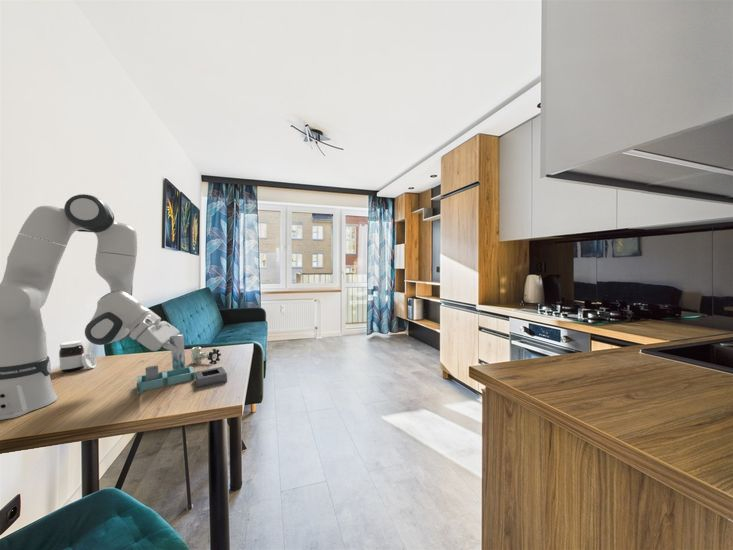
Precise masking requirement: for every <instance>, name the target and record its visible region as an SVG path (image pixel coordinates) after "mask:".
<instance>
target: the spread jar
mask: <svg viewBox="0 0 733 550" xmlns="http://www.w3.org/2000/svg"><path fill="white" fill-rule="evenodd" d="M59 348H60V349H59V351H58V357H59V359H58V360H59V369H60V370H59V371H60V373H62V372H63V374H64V373H65V374H66V373H67V372H68V373H73V372H74V371H75V372H77V371H78V370H79V371H82V370H83V369H87V370H92V369H95V367H97V359H96V357H95V355H94V354H93V353H92V352H86V353H85V348H84V346H83V340H70V341H65V342H61V343H60V344H59ZM91 368H92V369H91ZM81 369H82V370H81Z"/></svg>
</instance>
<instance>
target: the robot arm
mask: <svg viewBox="0 0 733 550" xmlns="http://www.w3.org/2000/svg"><path fill="white" fill-rule="evenodd" d="M75 232H79V233H80V232H81V233H82V232H84V233H94V235H95V236H96V239H97V245H96V253H95V260H94V261H95V262H94V264H95V271H96V273H97V274H98V276H99V277H101V278H102V279H103V280H104V281H105V282H106V283H107V285H108V287H109V289H110V292H108V293H107V294H105V295H103V296H102V297H100V298H99V299H98V300H97V305H96V310H95V312H94V314H93V316H92V318H91V319H90V321H89V322H88V323H87V324H86V326H85V327H84V336H85V339H87V341H89V342H90V343H91V344H94V345H98V346H105V345H109V344H111V343H114V342H117V341H123V340H126V339H127V338H130V339H132V340H133V341H134V340H136V341H137V342H138V343H139V344H141V345H142V346H144V347H145V348H146V349H149V351H153V352H157V351H158V350H160V349H161V348H163V349H165V350H167V351H170V352H171V351H172V352H173V353H176V352H177V351H178V350H179V348H178V347H177V346H174V345H172V344H171V336H172V335H176V334H181V331H180V330H179V329H178V328H177V327H175V326H174V325H173V324H171V323H169V322H168V321H166V320H162V318H161V316H159V315H158V314H157V313H155V311H153V310H151V309H150V308H148V307H145V306H144V305H143V303H142V302H141V301H140V300H138V299H137V298H135V297H134V296H133V285H134V283H133V282H134V273H135V268H136V264H137V263H136V262H137V254H138V237H137V236H138V235H137V231H136V229H134V227H132V226H131V225H129V224H126V223H122V222H118V221H116V220H115V215H114V213H113V211H112V209H111V208H110V206H109V205H108V204H107V203H105V202H104V201H103V200H102V199H101V198H99V197H97V196H94V195H91V194H85V193H83V194H81V193H80V194H76V195H73V196H71V197H70V198H69V199H67V201H66V202H65V204H64V208H63V207H62V208H60V207H57V206H53V205H52V206H50V205H40V206H37V207H35V208H34V209H33V210H32V211H31V213H30V214H29V215H28V217H27V218H26V219H25V221H24V223H23V224H22V225H21V228H20V230H19V231H18V234H17V236H16V238H15V240H14V242H13V244H12V247H11V249H10V251H9V254H8V256H7V259H6V260H7V261H6V266H5V270H4V275H3V277H2V281H1V282H0V421H1V420H7V419H14V418H18V417H21V416H23V415H25V414H28V413H30V412H33V411H35V410H36V411H37V410H38V409H42V408H43V407H46V406H48V405H50V404H53V403H54V402H56V401H57V400H58V395H57V393H56V392H55V389H54V387H53V384H52V380H51V372H52V371H51V370H52V367H51V360H50V356H48V349H47V348H48V347H47V333H46V331H45V328H44V327H45V326H44V324H43V319H42V318H43V317H42V313H41V308H42V307H43V306H44V305H45V303H46V302H47V299H48V296H49V294H50V291H51V289H52V285H53V282H54V279H55V275H56V273H57V270H58V266H59V264H60V262H61V260H62V257H63V255H64V252H65V251H66V249H67V245H68V243H69V241H70V239H71V237H72V235H73V234H74V233H75ZM172 352H171V353H172Z"/></svg>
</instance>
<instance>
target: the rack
mask: <svg viewBox="0 0 733 550" xmlns="http://www.w3.org/2000/svg"><path fill="white" fill-rule="evenodd" d="M195 372H196V371H195V369H194V367H193V365H192V366H190V365H189V366H185V368H182V369H178V370H173V369H169V370H164V371H159V366H158V365H150V366H147V367H145V374H144V375H143V374H142V375H138V376H137V379H136V394H137V395H140V394H139V393H141V394H143V391H145V390H151V389H155V388H156V389H157V388H160V387H164V386H166V387H167V386H170V385H175V384H180V383H184V382H188V381H189V382H190V381H195Z"/></svg>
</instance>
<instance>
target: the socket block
mask: <svg viewBox="0 0 733 550" xmlns="http://www.w3.org/2000/svg"><path fill="white" fill-rule="evenodd" d="M194 372H195V380H194V381H195V383H196V385H197V389H201V388H205V387H211V386H215V385H220V384H223V383H227V382H228V373H227V372H226V370H225V369H224V367H223V366H218V367H214V368H208V369H203V370H197V371H194Z"/></svg>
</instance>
